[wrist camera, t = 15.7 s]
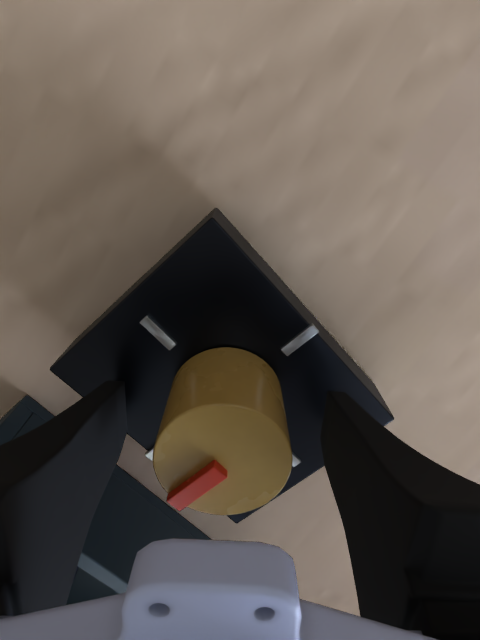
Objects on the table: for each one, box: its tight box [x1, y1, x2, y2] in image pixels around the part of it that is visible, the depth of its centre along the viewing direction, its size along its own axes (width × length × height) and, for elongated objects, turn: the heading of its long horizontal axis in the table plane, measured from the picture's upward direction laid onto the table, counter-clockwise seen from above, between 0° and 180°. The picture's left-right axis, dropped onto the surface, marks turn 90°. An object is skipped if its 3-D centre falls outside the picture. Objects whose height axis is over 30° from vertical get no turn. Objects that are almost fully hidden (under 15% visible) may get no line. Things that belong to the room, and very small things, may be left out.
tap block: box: [50, 208, 394, 523], centre depth 16 cm, size 10×8×3 cm
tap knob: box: [153, 347, 293, 515], centre depth 13 cm, size 4×4×4 cm
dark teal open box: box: [0, 395, 211, 605], centre depth 19 cm, size 13×11×5 cm
